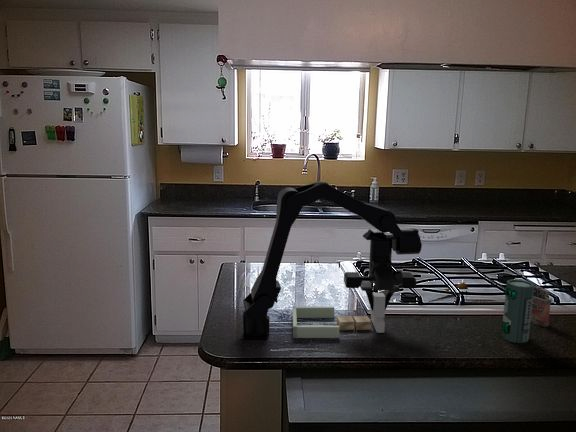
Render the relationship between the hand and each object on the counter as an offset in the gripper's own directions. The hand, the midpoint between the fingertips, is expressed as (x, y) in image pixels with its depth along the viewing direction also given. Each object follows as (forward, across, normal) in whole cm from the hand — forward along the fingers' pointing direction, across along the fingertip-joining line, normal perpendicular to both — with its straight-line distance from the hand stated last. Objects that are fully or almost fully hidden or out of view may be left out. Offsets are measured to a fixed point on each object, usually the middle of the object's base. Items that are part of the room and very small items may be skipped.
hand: (378, 309), depth 129 cm
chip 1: (+5, -9, 0) cm, 10 cm away
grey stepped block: (+5, 0, 0) cm, 5 cm away
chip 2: (+5, -4, 0) cm, 7 cm away
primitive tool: (+5, +26, +24) cm, 36 cm away
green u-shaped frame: (+5, -17, 0) cm, 18 cm away
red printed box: (+5, +46, +4) cm, 46 cm away
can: (+5, +35, -7) cm, 36 cm away
